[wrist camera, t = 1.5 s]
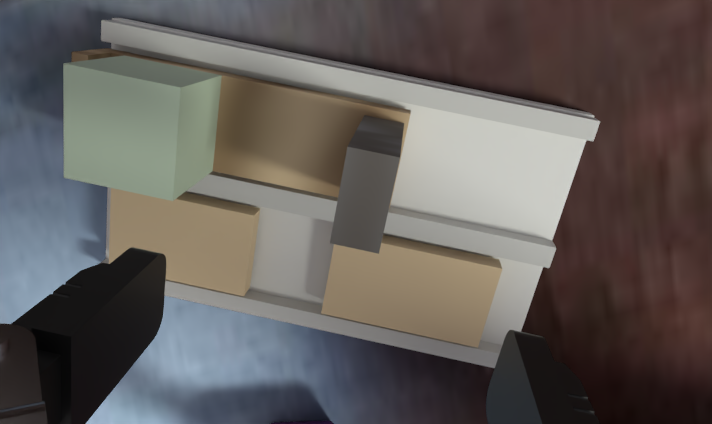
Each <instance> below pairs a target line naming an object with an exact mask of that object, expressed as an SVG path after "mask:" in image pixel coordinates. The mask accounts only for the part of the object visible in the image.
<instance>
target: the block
mask: <svg viewBox="0 0 712 424" xmlns="http://www.w3.org/2000/svg"><path fill="white" fill-rule="evenodd" d="M221 79H222V75H218V74H213V73H208V72H203V71H198V70H193V69H188V68H183V67H179V66H174V65H169V64H164V63H159V62H154V61H149V60H144V59H139V58H135V57H130V56H125V55H124V56H116V57H108V58H101V59H93V60H85V61H78V62H70V63H63V98H64V178H67V179H72V180H77V181H81V182H86V183H91V184H95V185H100V186H105V187H109V188H114V189H119V190H123V191H128V192H133V193H137V194H142V195H147V196H151V197H156V198H161V199H165V200H170V201H174V200H175V199H176V198H178V197H179V196H180V195H181V194H183V193H184V192H185V191H187V190H188V189H189V188H191V187H192V186H193V185H195V184H196V183H197V182H199V181H200V180H201V179H203V178H204V177H205V176H207V175H208V174H209V173H211V172H212V171H213V162H214V151H215V141H216V131H217V120H218V110H219V99H220V89H221Z"/></svg>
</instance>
